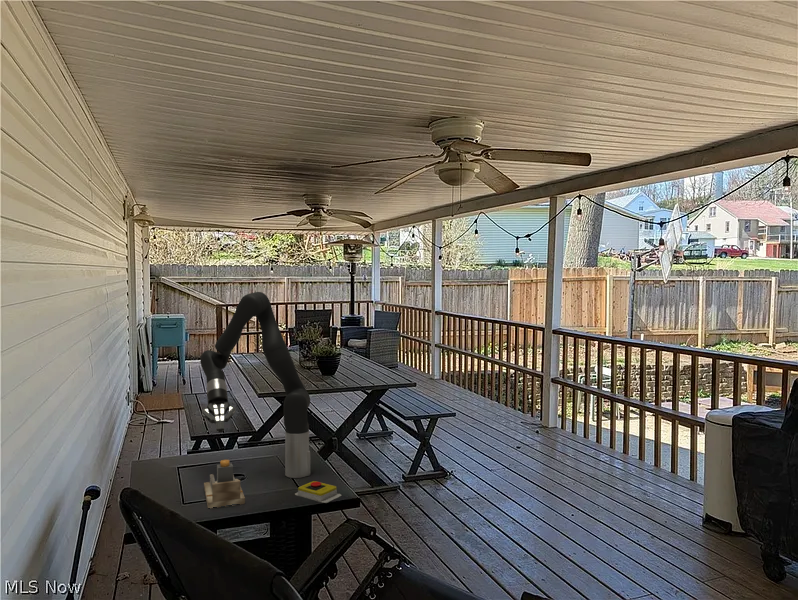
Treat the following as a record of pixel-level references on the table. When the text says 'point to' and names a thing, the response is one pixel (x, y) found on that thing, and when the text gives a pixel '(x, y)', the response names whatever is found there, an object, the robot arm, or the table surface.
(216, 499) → the track
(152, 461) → the table surface
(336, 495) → the emergency button
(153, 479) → the table surface
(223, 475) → the orange-capped grey pillar
